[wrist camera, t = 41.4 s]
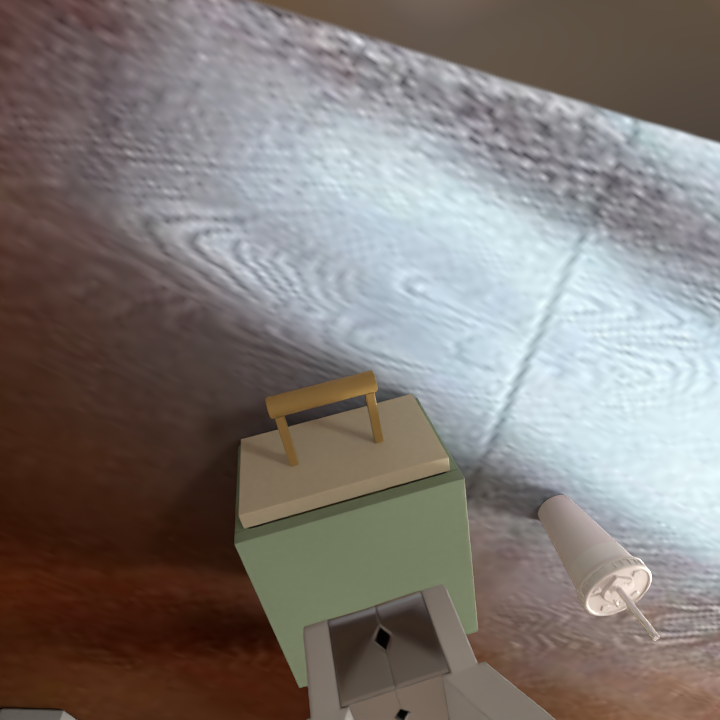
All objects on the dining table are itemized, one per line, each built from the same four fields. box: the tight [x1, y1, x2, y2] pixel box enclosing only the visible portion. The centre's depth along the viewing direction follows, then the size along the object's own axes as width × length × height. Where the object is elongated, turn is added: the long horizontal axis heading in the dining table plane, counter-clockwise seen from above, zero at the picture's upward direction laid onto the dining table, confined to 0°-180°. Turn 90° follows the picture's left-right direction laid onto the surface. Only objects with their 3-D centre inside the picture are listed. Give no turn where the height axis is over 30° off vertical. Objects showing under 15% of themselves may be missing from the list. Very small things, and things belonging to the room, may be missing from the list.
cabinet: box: [234, 398, 478, 688], centre depth 38 cm, size 17×15×10 cm
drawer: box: [238, 370, 450, 529], centre depth 35 cm, size 21×14×8 cm, turn 10°
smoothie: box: [538, 495, 660, 641], centre depth 42 cm, size 6×6×14 cm
